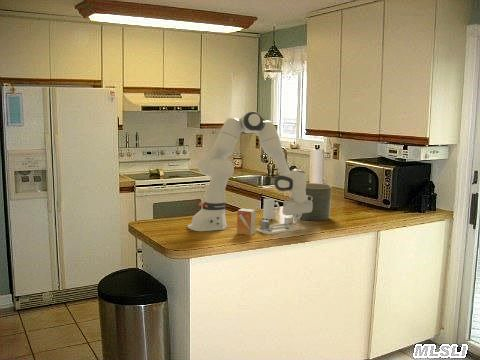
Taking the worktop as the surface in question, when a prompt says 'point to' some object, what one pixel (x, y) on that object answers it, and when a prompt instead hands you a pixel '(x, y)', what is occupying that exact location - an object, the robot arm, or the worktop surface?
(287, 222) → the sliding leg
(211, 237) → the worktop surface
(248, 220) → the small box
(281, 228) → the gauge board
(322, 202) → the planter
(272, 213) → the mug
